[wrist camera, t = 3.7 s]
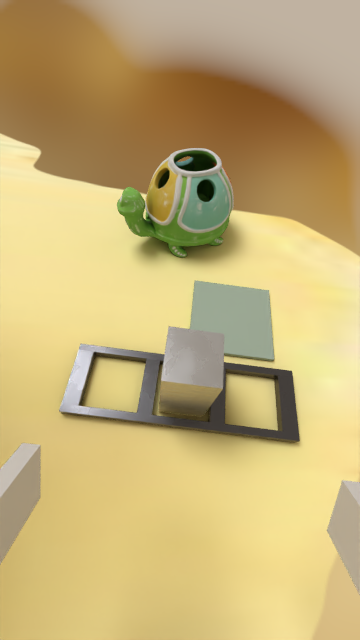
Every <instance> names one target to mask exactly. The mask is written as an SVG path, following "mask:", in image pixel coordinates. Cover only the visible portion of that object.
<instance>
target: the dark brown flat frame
mask: <svg viewBox="0 0 360 640" xmlns="http://www.w3.org/2000/svg"><path fill="white" fill-rule="evenodd" d="M95 356H102V357H110V358H118V359H125V360H133V361H141V362H146V365H145V371H144V377H143V382H142V388H141V393H140V399H139V405H138V410H137V413H133V412H125V411H117V410H109V409H101V408H93V407H85V406H81V405H82V401H83V398H84V394H85V391H86V387H87V384H88V380H89V377H90V373H91V370H92V366H93V363H94V359H95ZM164 356H165V355H164V354H156V353H148V352H141V351H133V350H125V349H117V348H110V347H102V346H94V345H86V344H80V347H79V350H78V353H77V357H76V360H75V363H74V366H73V369H72V372H71V375H70V378H69V381H68V385H67V388H66V391H65V394H64V397H63V400H62V403H61V406H60V410H59V411H60V412H61V413H62V414H70V415H78V416H86V417H94V418H102V419H110V420H118V421H126V422H134V423H142V424H150V425H158V426H166V427H174V428H182V429H190V430H198V431H206V432H214V433H222V434H230V435H238V436H246V437H254V438H262V439H270V440H278V441H286V442H294V443H295V442H299V441H300V440H299V431H298V422H297V412H296V403H295V394H294V385H293V376H292V371H288V370H280V369H272V368H265V367H257V366H249V365H241V364H234V363H226V362H224V369H223V389H222V391H221V392H220V393H219V395H218V396H217V398H216V399H215V400H214V402H213V403H212V405H211V406H210V407H209V419H208V422H204V421H196V420H189V419H181V418H173V417H165V416H157V415H152V412H153V406H154V399H155V392H156V386H157V379H158V372H159V366H160V364H163V363H164ZM226 372H227V373H234V374H242V375H250V376H258V377H265V378H273V379H274V381H275V394H276V408H277V421H278V431H276V430H268V429H260V428H252V427H244V426H236V425H228V424H225V381H226Z"/></svg>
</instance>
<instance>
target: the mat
mask: <svg viewBox="0 0 360 640" xmlns="http://www.w3.org/2000/svg"><path fill="white" fill-rule="evenodd" d="M190 329H192V330H200V331H207V332H215V333H223V334H224V355H228V356H236V357H243V358H251V359H259V360H267V361H273V360H274V351H273V338H272V325H271V312H270V299H269V290H261V289H254V288H247V287H239V286H232V285H224V284H217V283H209V282H202V281H195V283H194V293H193V303H192V314H191V324H190Z"/></svg>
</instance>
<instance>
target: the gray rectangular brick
mask: <svg viewBox="0 0 360 640" xmlns="http://www.w3.org/2000/svg"><path fill="white" fill-rule="evenodd" d="M223 369H224V334H223V333H215V332H207V331H200V330H192V329H185V328H177V327H169V328H168V335H167V342H166V349H165V356H164V363H163V370H162V377H161V387H160V402H159V412H166V413H173V414H181V415H189V416H197V417H203V416H204V414H205V413H206V411H207V410H208V409H209V407H210V406H211V405H212V403H213V402H214V400H215V399H216V398H217V396H218V395H219V393H220V392H221V391H222V389H223Z"/></svg>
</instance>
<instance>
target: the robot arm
mask: <svg viewBox="0 0 360 640" xmlns="http://www.w3.org/2000/svg"><path fill="white" fill-rule="evenodd" d="M39 499H40V445H36V444H27V443H22V444H21V445H20V447H19V448H18V449H17V450H16V451H15V452H14V454H13V455H12V456H11V457H10V458H9V459H8V461H7V462H6V463H5V464H4V465H3V466H2V467H1V469H0V564H1V562H2V561H3V559H4V557H5V556H6V554H7V552H8V551H9V549H10V547H11V546H12V544H13V542H14V541H15V539H16V537H17V536H18V534H19V532H20V531H21V529H22V527H23V526H24V524H25V522H26V521H27V519H28V517H29V516H30V514H31V512H32V510H33V509H34V507H35V505H36V504H37V502H38V500H39ZM327 532H328V534H329V536H330V538H331V540H332V542H333V544H334V546H335V548H336V550H337V551H338V553H339V555H340V557H341V559H342V561H343V563H344V565H345V567H346V569H347V571H348V573H349V575H350V577H351V579H352V581H353V583H354V585H355V587H356V589H357V591H358V593H359V595H360V482H352V481H343V480H342V483H341V486H340V489H339V493H338V496H337V499H336V502H335V506H334V509H333V512H332V515H331V519H330V522H329V525H328V528H327Z"/></svg>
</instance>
